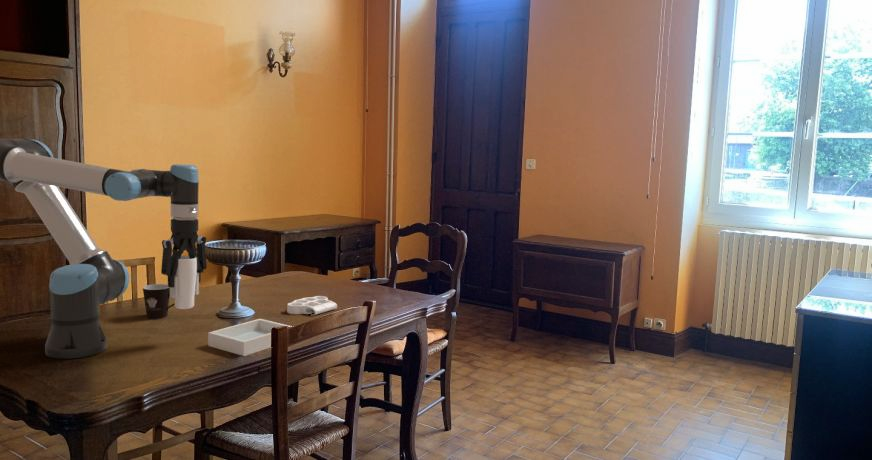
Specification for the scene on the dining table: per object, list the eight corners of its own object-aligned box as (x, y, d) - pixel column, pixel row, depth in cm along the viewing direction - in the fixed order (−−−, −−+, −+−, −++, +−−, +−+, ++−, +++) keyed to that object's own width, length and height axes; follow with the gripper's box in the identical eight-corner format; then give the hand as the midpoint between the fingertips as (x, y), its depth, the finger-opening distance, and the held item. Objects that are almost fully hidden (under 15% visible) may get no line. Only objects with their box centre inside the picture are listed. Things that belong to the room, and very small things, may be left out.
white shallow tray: (244, 356, 187) (244, 342, 187) (208, 345, 195) (208, 332, 195) (294, 339, 204) (294, 326, 204) (259, 330, 212) (259, 318, 211)
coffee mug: (137, 316, 223) (136, 287, 222) (158, 311, 230) (158, 283, 229) (161, 322, 218) (161, 292, 216) (182, 316, 225) (182, 287, 224)
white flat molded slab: (308, 319, 229) (278, 312, 237) (343, 309, 244) (313, 302, 252) (309, 309, 229) (278, 302, 236) (343, 300, 244) (313, 294, 252)
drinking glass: (201, 307, 198) (202, 257, 196) (182, 311, 193) (182, 260, 191) (186, 303, 202) (187, 254, 200) (167, 307, 196) (167, 257, 194)
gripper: (163, 222, 184) (163, 303, 187) (220, 217, 200) (219, 292, 203) (146, 219, 188) (146, 299, 191) (203, 214, 204) (203, 288, 207)
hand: (184, 295), depth 197 cm, fingers closed on drinking glass, 7 cm apart
